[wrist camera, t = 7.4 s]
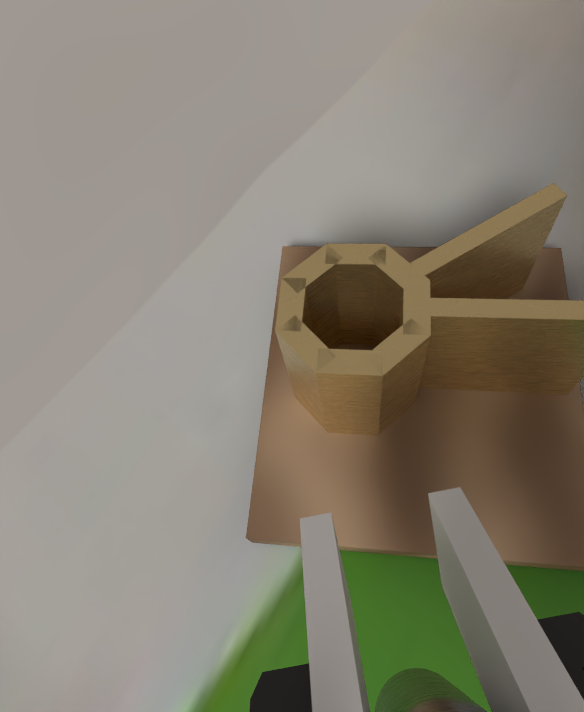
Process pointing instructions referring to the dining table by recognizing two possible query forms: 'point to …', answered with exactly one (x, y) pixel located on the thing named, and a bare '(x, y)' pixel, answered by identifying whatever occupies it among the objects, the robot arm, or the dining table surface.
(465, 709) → the hinge pin
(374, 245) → the brass hinge
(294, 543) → the walnut board
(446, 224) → the dining table surface
